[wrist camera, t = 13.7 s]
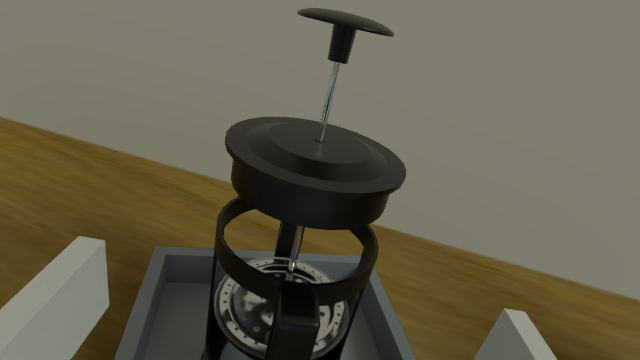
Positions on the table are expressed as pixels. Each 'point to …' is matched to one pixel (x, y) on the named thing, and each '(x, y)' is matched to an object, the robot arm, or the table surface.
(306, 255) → the tray
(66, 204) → the table surface
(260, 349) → the french press
